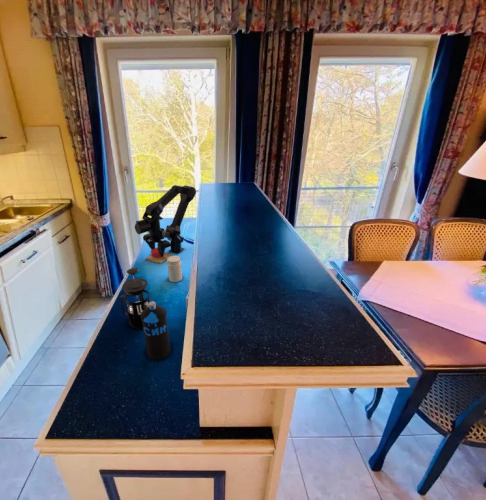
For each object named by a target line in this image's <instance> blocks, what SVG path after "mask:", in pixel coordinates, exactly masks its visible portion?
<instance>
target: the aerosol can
mask: <svg viewBox="0 0 486 500" xmlns="http://www.w3.org/2000/svg"><path fill="white" fill-rule="evenodd" d="M148 303H149V307H147V308H146V309H144V310H143V311H142V313H141V315H140V316H139V318H140V319H141V321H142V324H143V334H144V341H145V346H146V355H147V357H148V358H149V359H151V360H154V361H159V360H163V359H165V358H167V357H168V356H169V355H170V354H171V350H172V347H171V344H170V343H171V342H170V336H169V335H170V334H169V328H168V320H167V314H168V313H167V309H166V308H165V307H163V306H161V305H158V304H156V302H155V301H153V300H150V302H148Z"/></svg>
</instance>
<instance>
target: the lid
mask: <svg viewBox="0 0 486 500" xmlns="http://www.w3.org/2000/svg"><path fill="white" fill-rule="evenodd" d="M165 253H166V250H165V251H164V255H165ZM164 255H163V256H164ZM150 256H152V257H161V256H160V254H159V251H158V249H157V247H155V248H154V249H152V250H151V249H150Z"/></svg>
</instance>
